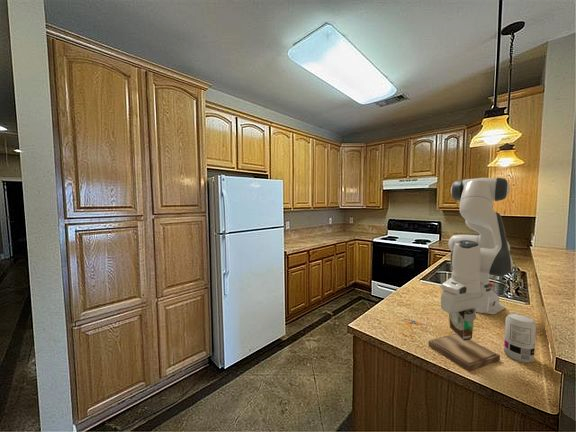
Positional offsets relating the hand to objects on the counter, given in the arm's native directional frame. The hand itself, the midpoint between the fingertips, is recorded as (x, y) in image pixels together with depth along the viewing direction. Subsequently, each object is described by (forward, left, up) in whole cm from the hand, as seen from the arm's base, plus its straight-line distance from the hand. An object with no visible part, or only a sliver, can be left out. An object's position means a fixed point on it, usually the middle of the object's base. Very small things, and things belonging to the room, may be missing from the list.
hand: (463, 319), depth 94 cm
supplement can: (-17, +9, -13) cm, 23 cm away
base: (0, 0, -13) cm, 13 cm away
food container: (-1, 0, -6) cm, 6 cm away
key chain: (-1, -22, -14) cm, 26 cm away
